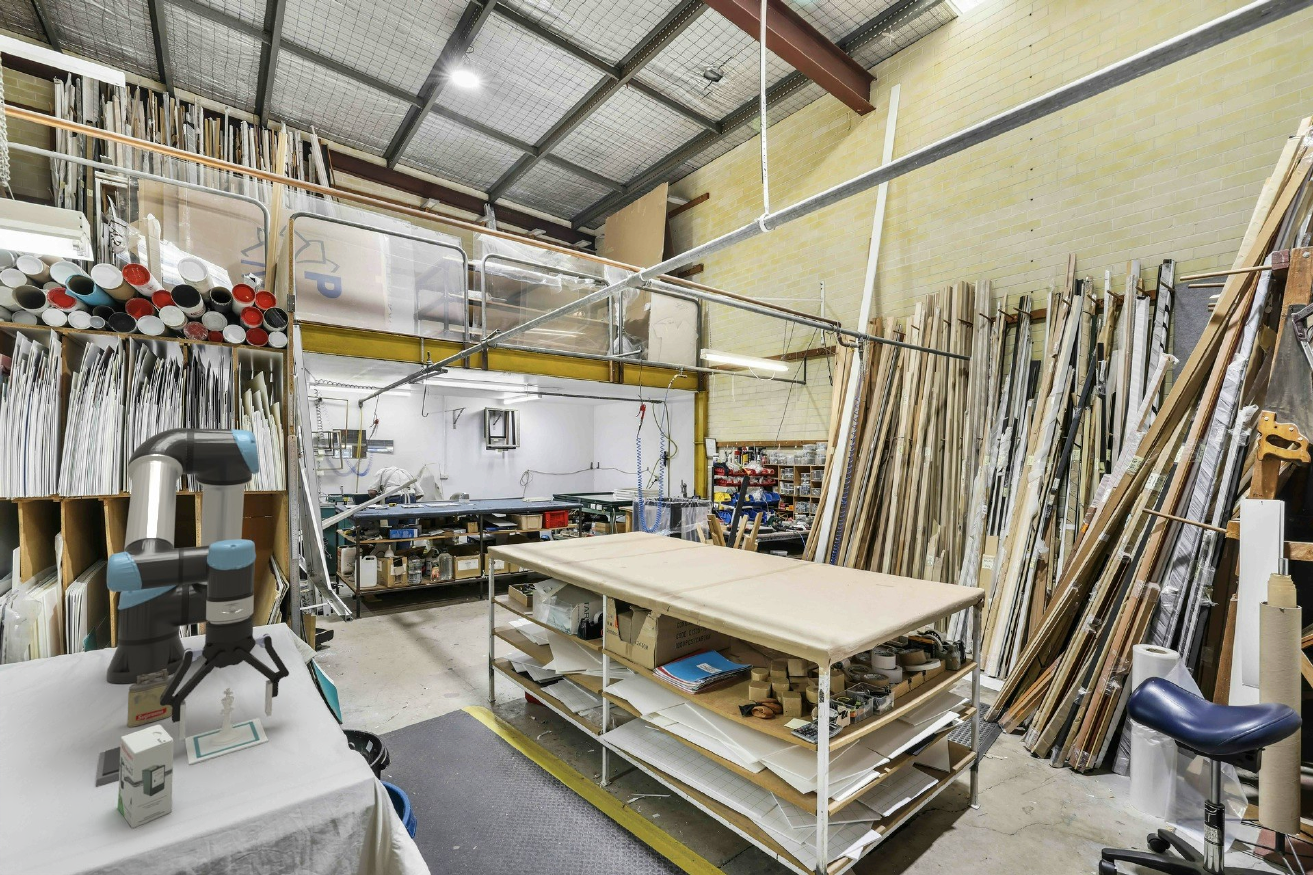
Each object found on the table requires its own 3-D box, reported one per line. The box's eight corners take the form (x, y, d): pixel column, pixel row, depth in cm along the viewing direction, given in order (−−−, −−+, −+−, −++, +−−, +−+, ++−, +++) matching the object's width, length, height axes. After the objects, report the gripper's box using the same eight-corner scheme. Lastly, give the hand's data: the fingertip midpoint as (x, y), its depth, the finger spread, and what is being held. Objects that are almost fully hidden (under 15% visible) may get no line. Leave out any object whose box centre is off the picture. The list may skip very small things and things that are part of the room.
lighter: (128, 729, 112) (129, 680, 112) (125, 722, 114) (127, 675, 115) (173, 716, 117) (175, 670, 118) (170, 710, 120) (171, 665, 120)
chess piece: (224, 747, 105) (226, 695, 106) (203, 743, 106) (205, 692, 107) (248, 733, 110) (249, 684, 110) (228, 730, 111) (229, 682, 111)
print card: (184, 739, 109) (185, 737, 109) (258, 719, 117) (258, 717, 117) (188, 765, 100) (188, 763, 100) (268, 741, 108) (268, 739, 108)
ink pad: (99, 759, 101) (99, 750, 101) (157, 743, 107) (157, 735, 107) (96, 786, 93) (96, 777, 93) (159, 767, 99) (159, 759, 99)
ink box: (116, 808, 88) (118, 735, 88) (156, 792, 92) (158, 722, 92) (131, 829, 83) (133, 752, 84) (173, 811, 87) (175, 738, 88)
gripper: (144, 637, 97) (141, 756, 97) (306, 610, 115) (303, 711, 114) (144, 627, 103) (141, 739, 102) (299, 602, 120) (296, 698, 120)
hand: (226, 724), depth 108 cm, fingers open, 13 cm apart
